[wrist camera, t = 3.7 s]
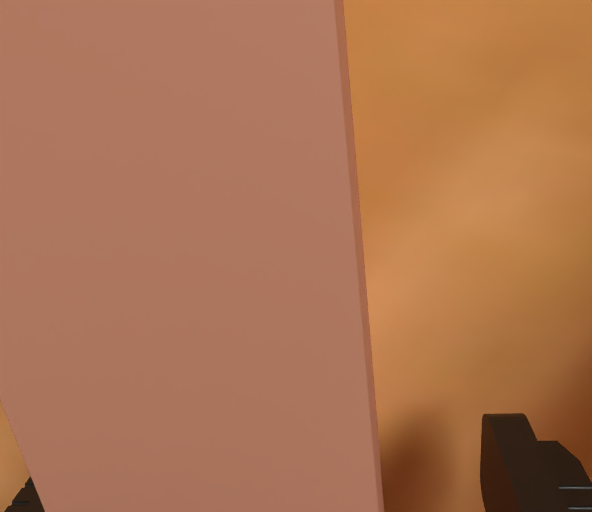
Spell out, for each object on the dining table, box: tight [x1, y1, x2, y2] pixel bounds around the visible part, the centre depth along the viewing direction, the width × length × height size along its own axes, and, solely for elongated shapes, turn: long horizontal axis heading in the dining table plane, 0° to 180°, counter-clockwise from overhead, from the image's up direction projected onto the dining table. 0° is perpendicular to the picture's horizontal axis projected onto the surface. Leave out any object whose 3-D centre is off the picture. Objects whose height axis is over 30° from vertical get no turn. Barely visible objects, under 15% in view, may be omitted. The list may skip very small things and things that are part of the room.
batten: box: [0, 0, 385, 512], centre depth 10 cm, size 4×24×7 cm, turn 7°
